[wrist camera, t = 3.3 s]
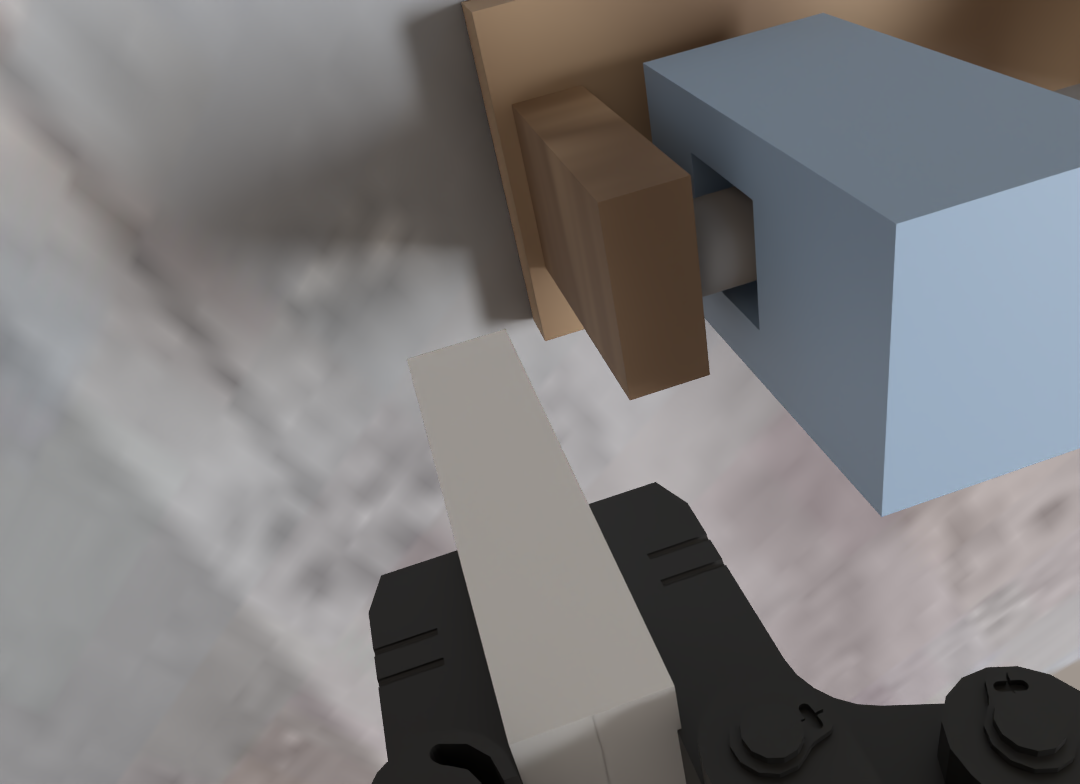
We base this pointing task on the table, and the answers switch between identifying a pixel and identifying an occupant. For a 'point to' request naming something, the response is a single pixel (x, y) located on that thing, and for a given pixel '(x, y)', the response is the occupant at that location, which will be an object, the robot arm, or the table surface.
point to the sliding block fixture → (649, 174)
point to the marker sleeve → (892, 247)
